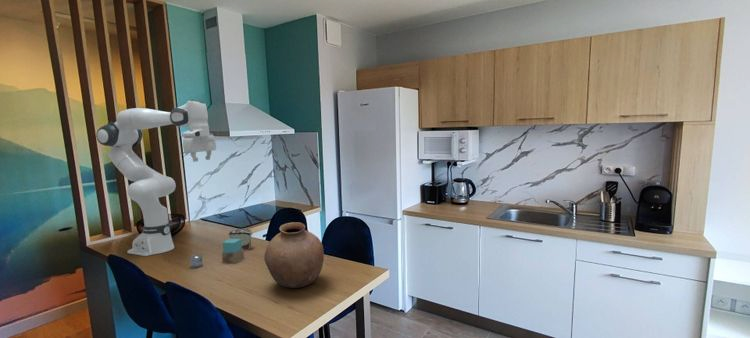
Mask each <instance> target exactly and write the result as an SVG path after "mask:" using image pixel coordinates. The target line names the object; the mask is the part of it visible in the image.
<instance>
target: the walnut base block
mask: <svg viewBox="0 0 750 338" xmlns="http://www.w3.org/2000/svg"><path fill="white" fill-rule="evenodd" d="M244 251H245V250H243V249H241V250H239V251H238V252H236V253H223V252H222V253H221V260H222V264H233V265H236V264H238V263H240V261H242V260H244V259H245V255H244V254H245V253H244Z"/></svg>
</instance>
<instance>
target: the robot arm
mask: <svg viewBox="0 0 750 338" xmlns="http://www.w3.org/2000/svg"><path fill="white" fill-rule="evenodd" d="M208 119H209V115H208V108H207V104H206V103H205V102H204V101H202V100H195V99H189V100H188V101H186V103H185V104H182V105H181V106H178V107H174V108H173V109H171V111H163V110H158V109H157V110H156V109H152V108H145V107H134V108H128V109H127V108H126V109H124V110H121V111H119V112H118V113H117V115H116V121H115V122H112V121H110V122H107V124H104V125H103V126H101V127H99V128H98V129H97V131H96V134H95V136H96V140H97V142H98V143H99V144H100V145H102V146H106V147H111V148H110V149H109V150H108V152H107V154H108V158H109V160H110V161H111V162H112V164H113V165H114V166H115V168H116V169H118V171H119V173H121V174H122V175H123V176H124V177H125V178H126V179H127V180H129V181H130V182H131V183H130V184H129V185H128V188H127V195H128V197H129V198H130V200H131V201H134V202H135V203H137V205H138V206H139V207H140V209H141V212H142V216H143V224H144V225H143V226H141V227H140V230H142V231H141V233H140V234H139V235H138V236H136V237H135V238H134V239H133V240H132V247H131V248H130V249H129V250H127V254H130V255H131V254H132V255H136V256H142V257H147V256H152V255H158V254H159V255H160V254H163V253H166V252H167V253H168V252H170V251H172V250H174V249H175V244H174V242H173V237H172V234H171V224H170V222H169V213H168V212H169V211H168V208H167V207H165V206H164V205H163V204H161V202H160V199H159V198H162V197H167V196H168V195H170V194H172V193H174V192H175V190H176V187H177V185H176V181H175V180H174V178H172V177H170V176H167V175H164V174H162V173H160V172H158V171H156V170H155V169H153V168H152V167H150V166H148V165H147V164H146V163H145V162H144V161H143V160H142V159H141V158H140V157H139V156H138V155H137V153H135V152H134V150H133V149H135V148H137V147H138V144H140V143H141V141H142V140H143V131H142V130H149V129H154V128H158V127H159V128H160V127H164V126H170V125H174V126H175V127H180V128H185V127H186V128H189V129H188V130H186V131H184V132H182V133H181V135H182V136H181V137H182V138H183V139H182V147H183V151H184V153H187V154H189V153H190V156H191V158H192V162H193V163H194V162H196V163H197V162H198V161H199V158H198V157H197V153H198V152H199V153H201V152H205V153H206V155H205V157H204V158H205V160H207V161H209V160H211V155H212V151H216V149H217V142H216V138H215V136H214V134H213V133H212V132H210V126H209V122H208Z"/></svg>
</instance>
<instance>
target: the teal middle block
mask: <svg viewBox="0 0 750 338" xmlns="http://www.w3.org/2000/svg"><path fill="white" fill-rule="evenodd" d="M241 249H242V245H241V239H230V238H229V239H226V240H225V241H222V251H223V252H222V253H236V252H238V251H239V250H241Z"/></svg>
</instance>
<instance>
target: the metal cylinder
mask: <svg viewBox="0 0 750 338" xmlns="http://www.w3.org/2000/svg"><path fill="white" fill-rule="evenodd" d="M189 259H190V267H191V268H190V269H199V268H202V267H203V266H204V262H203V261H204V260H203V254H201V253H199V254H198V253H197V254H192V255H190V256H189Z"/></svg>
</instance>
